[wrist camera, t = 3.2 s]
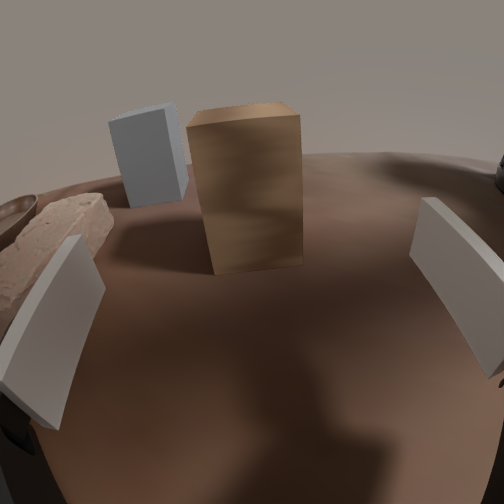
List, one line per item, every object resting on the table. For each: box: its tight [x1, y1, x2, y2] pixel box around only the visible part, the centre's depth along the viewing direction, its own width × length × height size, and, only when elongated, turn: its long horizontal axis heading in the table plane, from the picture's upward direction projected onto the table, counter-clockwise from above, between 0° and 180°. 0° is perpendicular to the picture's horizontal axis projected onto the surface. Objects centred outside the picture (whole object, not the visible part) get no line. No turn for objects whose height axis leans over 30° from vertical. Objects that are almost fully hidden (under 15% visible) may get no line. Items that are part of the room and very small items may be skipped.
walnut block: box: [186, 102, 303, 275], centre depth 20 cm, size 6×6×10 cm
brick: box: [0, 193, 114, 340], centre depth 21 cm, size 16×8×5 cm, turn 0°
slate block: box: [108, 102, 189, 208], centre depth 30 cm, size 6×6×10 cm
